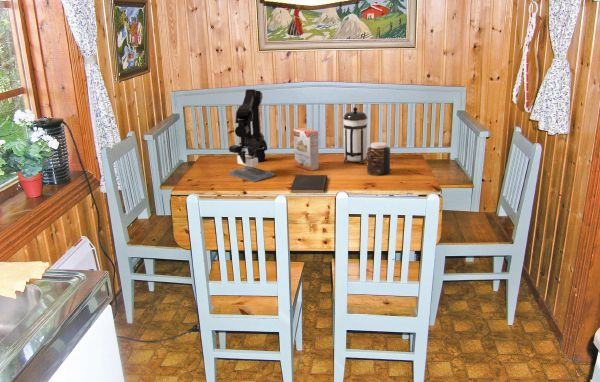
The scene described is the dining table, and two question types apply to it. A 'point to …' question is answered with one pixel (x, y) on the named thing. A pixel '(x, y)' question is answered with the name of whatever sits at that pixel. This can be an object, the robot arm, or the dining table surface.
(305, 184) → the hardcover book
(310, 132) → the cracker box
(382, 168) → the jar
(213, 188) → the dining table surface
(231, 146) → the robot arm
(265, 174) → the mount plate
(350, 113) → the coffee press
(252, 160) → the white rectangular block
